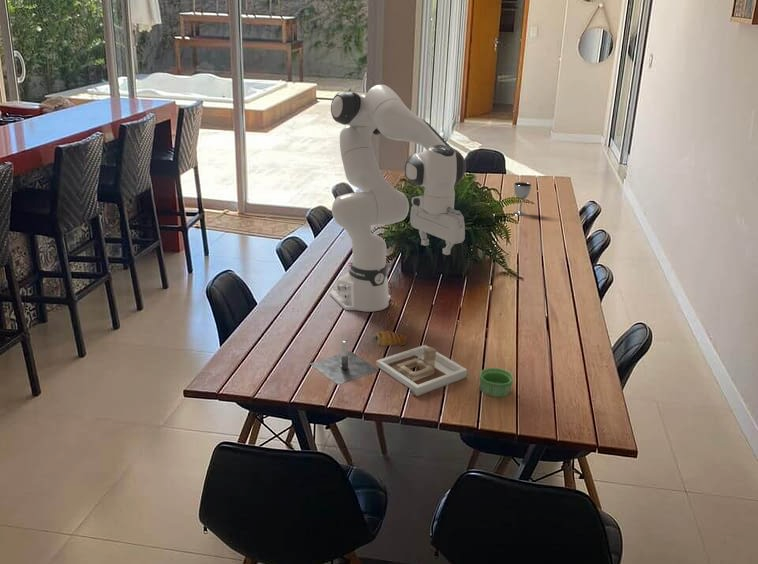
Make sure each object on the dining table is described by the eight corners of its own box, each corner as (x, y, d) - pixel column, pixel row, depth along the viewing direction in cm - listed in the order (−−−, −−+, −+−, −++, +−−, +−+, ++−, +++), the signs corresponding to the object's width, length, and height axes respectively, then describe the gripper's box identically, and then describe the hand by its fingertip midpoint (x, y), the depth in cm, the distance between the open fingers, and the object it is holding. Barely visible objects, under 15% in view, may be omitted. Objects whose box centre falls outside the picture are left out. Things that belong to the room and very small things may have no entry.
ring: (396, 371, 197) (397, 351, 195) (423, 361, 203) (424, 342, 201) (413, 382, 192) (414, 362, 189) (441, 372, 197) (442, 353, 195)
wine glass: (508, 211, 355) (511, 182, 349) (522, 211, 357) (526, 181, 351) (516, 216, 348) (519, 186, 342) (530, 215, 350) (534, 185, 344)
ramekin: (508, 381, 195) (509, 367, 194) (515, 398, 187) (516, 384, 185) (475, 381, 195) (477, 367, 193) (481, 398, 187) (482, 383, 185)
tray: (375, 368, 199) (376, 360, 198) (424, 352, 210) (425, 344, 209) (416, 396, 186) (417, 388, 185) (466, 377, 196) (467, 369, 195)
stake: (309, 366, 199) (309, 337, 196) (350, 354, 207) (351, 326, 204) (337, 388, 189) (337, 358, 185) (379, 373, 197) (380, 344, 193)
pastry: (403, 338, 218) (404, 327, 217) (408, 348, 212) (408, 337, 211) (373, 339, 217) (373, 328, 215) (377, 349, 211) (377, 338, 209)
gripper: (472, 210, 196) (467, 257, 201) (424, 194, 211) (421, 238, 216) (455, 214, 193) (451, 261, 198) (407, 197, 208) (405, 241, 213)
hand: (435, 249), depth 207 cm, fingers open, 8 cm apart
